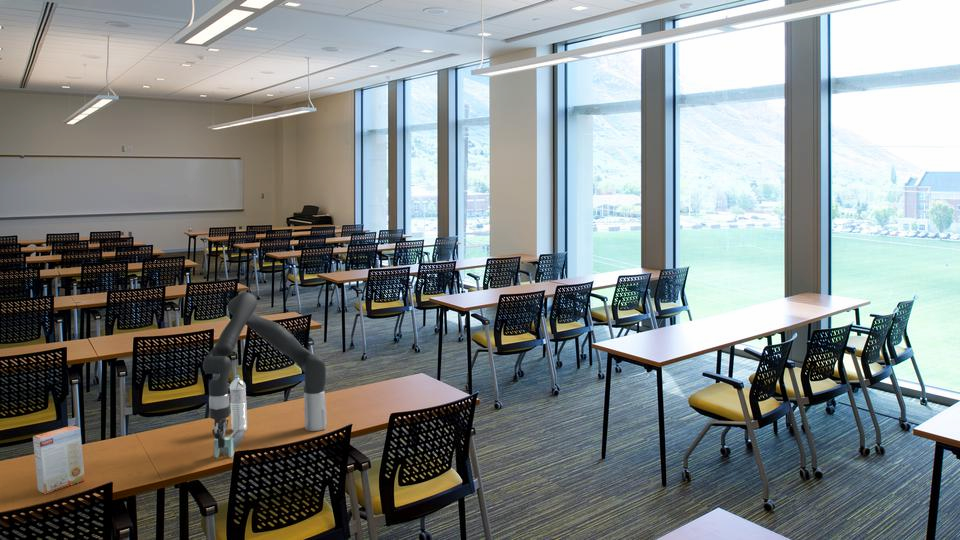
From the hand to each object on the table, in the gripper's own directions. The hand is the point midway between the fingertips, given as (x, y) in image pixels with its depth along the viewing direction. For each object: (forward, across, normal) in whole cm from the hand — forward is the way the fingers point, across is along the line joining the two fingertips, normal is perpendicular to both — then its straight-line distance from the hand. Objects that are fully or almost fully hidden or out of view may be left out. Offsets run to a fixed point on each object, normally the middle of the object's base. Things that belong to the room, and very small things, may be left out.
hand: (221, 447), depth 275 cm
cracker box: (+5, +21, -51) cm, 56 cm away
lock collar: (+5, -4, 0) cm, 6 cm away
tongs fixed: (+5, -16, 0) cm, 17 cm away
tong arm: (+5, -18, -1) cm, 18 cm away
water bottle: (+6, -36, -3) cm, 36 cm away
